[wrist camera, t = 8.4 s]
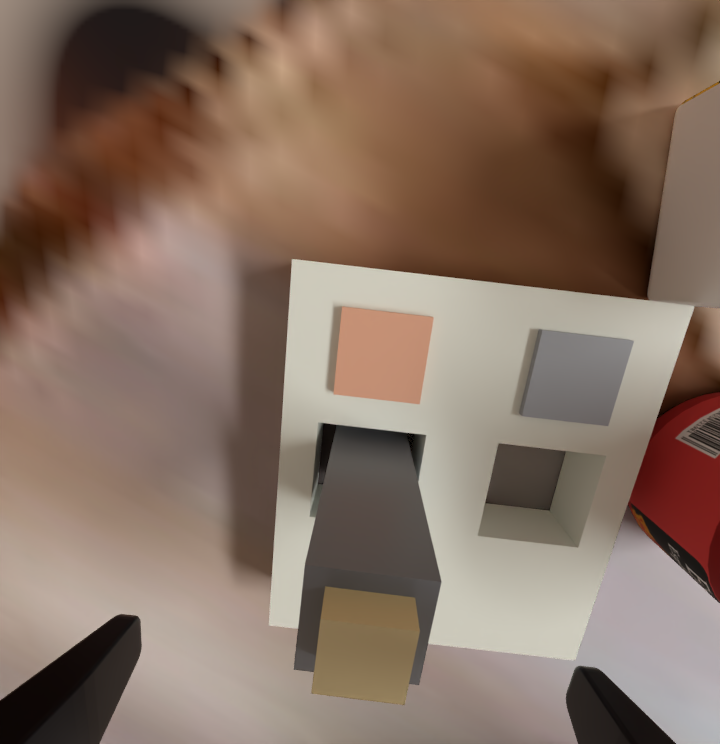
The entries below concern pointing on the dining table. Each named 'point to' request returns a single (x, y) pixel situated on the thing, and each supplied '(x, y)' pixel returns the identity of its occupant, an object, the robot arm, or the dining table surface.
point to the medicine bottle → (690, 208)
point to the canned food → (684, 489)
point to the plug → (368, 572)
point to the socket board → (477, 433)
